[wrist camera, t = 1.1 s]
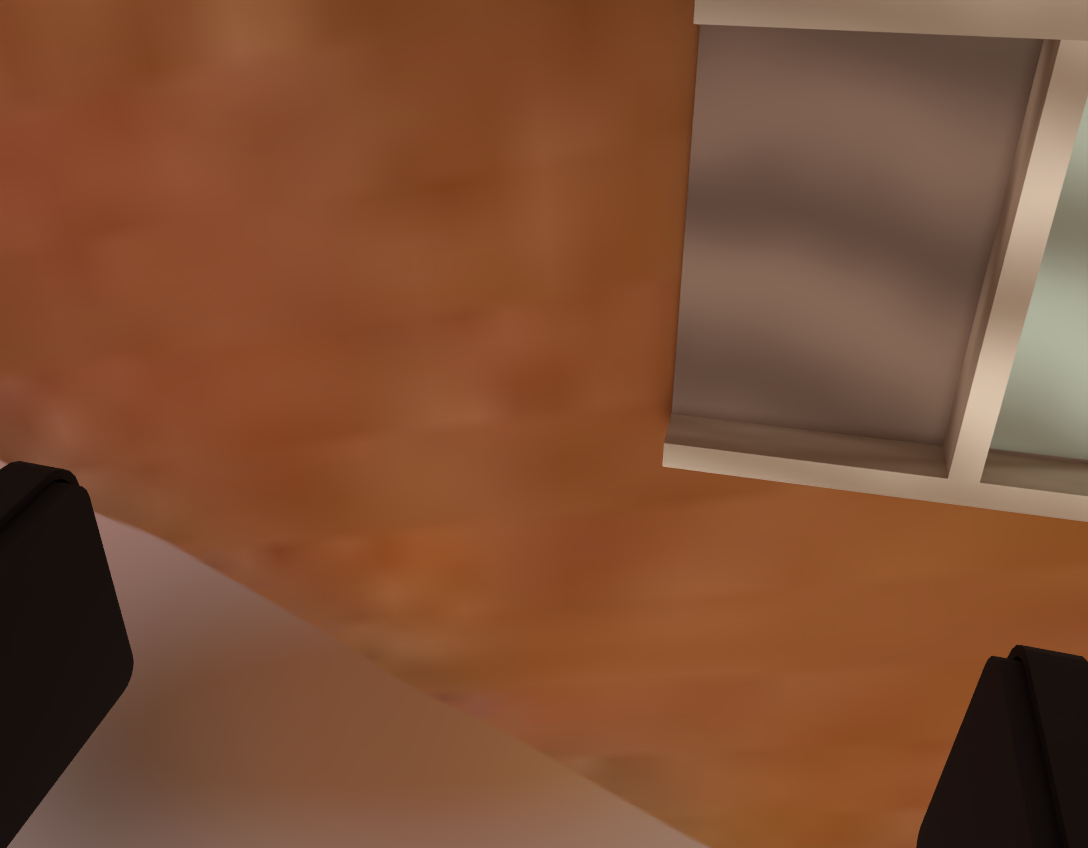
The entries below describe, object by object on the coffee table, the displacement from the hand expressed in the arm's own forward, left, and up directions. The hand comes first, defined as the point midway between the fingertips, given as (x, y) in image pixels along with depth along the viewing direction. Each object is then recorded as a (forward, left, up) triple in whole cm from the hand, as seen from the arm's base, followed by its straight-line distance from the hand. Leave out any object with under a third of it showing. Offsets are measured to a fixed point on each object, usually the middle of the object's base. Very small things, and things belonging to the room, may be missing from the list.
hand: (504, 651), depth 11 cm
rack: (+5, +9, -26) cm, 28 cm away
